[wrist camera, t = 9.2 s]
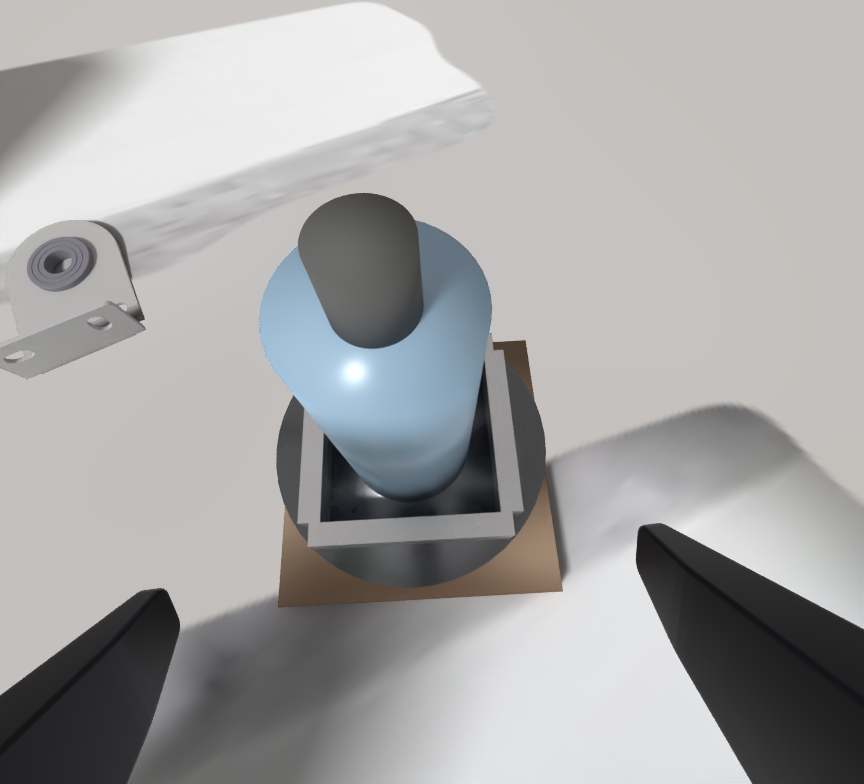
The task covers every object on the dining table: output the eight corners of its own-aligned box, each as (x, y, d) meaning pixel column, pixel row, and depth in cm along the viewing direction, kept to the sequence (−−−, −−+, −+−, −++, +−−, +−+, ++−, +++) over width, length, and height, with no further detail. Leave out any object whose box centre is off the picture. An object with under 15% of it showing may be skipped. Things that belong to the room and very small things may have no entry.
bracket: (113, 216, 30) (73, 172, 26) (151, 336, 26) (110, 302, 23) (9, 255, 29) (-45, 215, 25) (34, 385, 25) (-26, 357, 22)
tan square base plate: (557, 590, 20) (595, 594, 15) (285, 606, 20) (231, 614, 15) (522, 349, 25) (542, 289, 20) (301, 362, 25) (264, 305, 20)
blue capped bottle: (492, 454, 18) (565, 260, 7) (394, 527, 17) (304, 431, 6) (423, 368, 20) (396, 101, 9) (329, 430, 19) (166, 217, 8)
